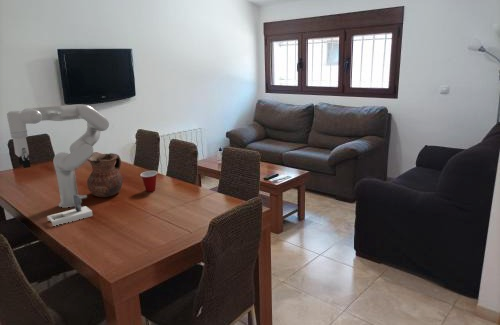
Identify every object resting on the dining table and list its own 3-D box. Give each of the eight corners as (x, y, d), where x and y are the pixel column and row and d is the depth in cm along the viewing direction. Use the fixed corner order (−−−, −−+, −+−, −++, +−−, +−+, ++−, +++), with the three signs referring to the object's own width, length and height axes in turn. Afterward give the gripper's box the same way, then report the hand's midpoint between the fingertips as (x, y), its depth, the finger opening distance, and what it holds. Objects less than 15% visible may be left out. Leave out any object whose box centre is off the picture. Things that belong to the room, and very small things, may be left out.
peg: (82, 213, 206) (79, 193, 203) (84, 216, 203) (81, 195, 200) (73, 216, 203) (70, 195, 200) (76, 218, 200) (73, 197, 197)
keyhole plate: (86, 211, 210) (85, 206, 209) (92, 215, 203) (92, 210, 202) (47, 221, 197) (46, 216, 197) (53, 226, 190) (52, 221, 189)
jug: (111, 200, 226) (106, 161, 219) (81, 198, 230) (75, 160, 223) (130, 188, 247) (126, 152, 240) (102, 187, 251) (97, 151, 244)
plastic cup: (138, 191, 240) (136, 174, 237) (149, 187, 249) (148, 169, 246) (151, 194, 235) (149, 176, 232) (162, 189, 244) (160, 171, 241)
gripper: (7, 133, 199) (13, 164, 203) (14, 137, 187) (20, 170, 191) (23, 131, 204) (28, 161, 208) (31, 135, 191) (36, 167, 196)
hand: (24, 165), depth 200 cm, fingers open, 9 cm apart
